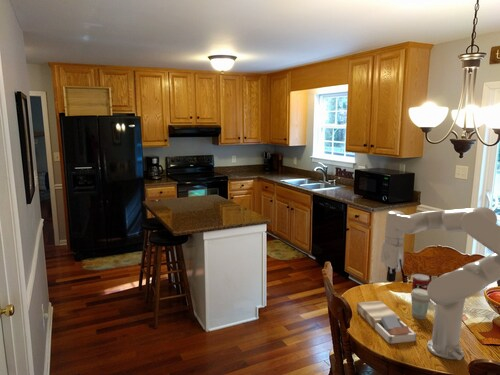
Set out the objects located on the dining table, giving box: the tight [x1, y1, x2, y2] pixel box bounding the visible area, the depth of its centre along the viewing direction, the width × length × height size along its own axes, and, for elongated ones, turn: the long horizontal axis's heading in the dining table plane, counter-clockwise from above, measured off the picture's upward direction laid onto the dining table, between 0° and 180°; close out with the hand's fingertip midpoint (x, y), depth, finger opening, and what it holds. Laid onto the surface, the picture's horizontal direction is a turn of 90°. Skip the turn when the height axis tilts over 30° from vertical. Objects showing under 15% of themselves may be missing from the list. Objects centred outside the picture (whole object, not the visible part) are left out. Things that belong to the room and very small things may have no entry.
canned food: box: [411, 273, 431, 291], centre depth 194 cm, size 8×8×11 cm
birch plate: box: [356, 300, 401, 330], centre depth 173 cm, size 16×12×4 cm
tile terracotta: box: [388, 325, 410, 335], centre depth 156 cm, size 6×6×2 cm
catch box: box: [374, 319, 417, 344], centre depth 159 cm, size 11×12×3 cm
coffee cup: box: [410, 289, 431, 320], centre depth 174 cm, size 8×8×12 cm
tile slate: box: [381, 316, 401, 332], centre depth 161 cm, size 6×6×2 cm
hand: (390, 280), depth 164 cm, fingers closed
